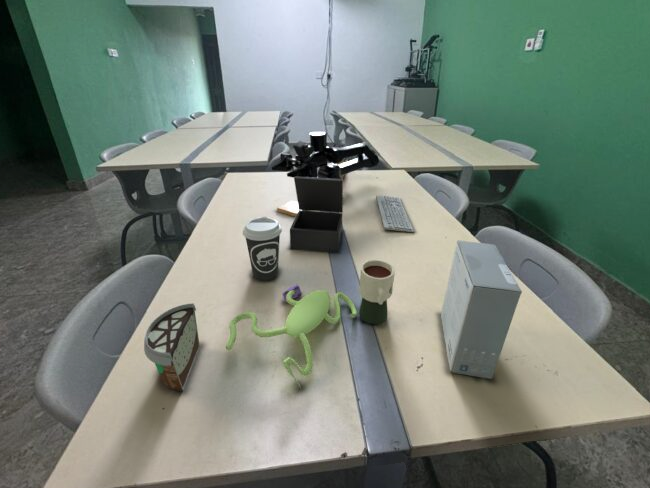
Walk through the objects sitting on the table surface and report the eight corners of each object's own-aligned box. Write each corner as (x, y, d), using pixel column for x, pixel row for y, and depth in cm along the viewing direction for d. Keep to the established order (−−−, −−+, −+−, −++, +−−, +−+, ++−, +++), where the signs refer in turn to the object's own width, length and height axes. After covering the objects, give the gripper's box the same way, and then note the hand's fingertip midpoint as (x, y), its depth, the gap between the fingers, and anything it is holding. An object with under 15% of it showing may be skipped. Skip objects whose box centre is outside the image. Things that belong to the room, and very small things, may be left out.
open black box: (338, 252, 95) (338, 232, 92) (290, 248, 96) (289, 229, 93) (341, 231, 107) (342, 213, 105) (299, 228, 108) (299, 210, 106)
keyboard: (414, 232, 108) (414, 227, 107) (384, 231, 108) (384, 226, 107) (399, 199, 135) (400, 195, 134) (375, 198, 135) (376, 194, 134)
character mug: (394, 334, 66) (401, 284, 61) (360, 336, 66) (365, 285, 61) (383, 299, 76) (388, 254, 71) (354, 300, 76) (357, 254, 70)
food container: (170, 341, 63) (160, 302, 59) (202, 340, 64) (194, 301, 59) (140, 401, 52) (126, 358, 48) (179, 399, 52) (168, 356, 48)
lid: (342, 181, 93) (342, 179, 94) (293, 178, 94) (294, 176, 95) (342, 212, 104) (342, 211, 105) (298, 209, 105) (299, 208, 106)
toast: (291, 203, 127) (291, 200, 127) (310, 208, 123) (310, 205, 123) (277, 211, 120) (277, 207, 120) (296, 217, 116) (296, 213, 116)
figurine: (215, 353, 61) (211, 331, 59) (300, 281, 82) (300, 263, 79) (289, 404, 52) (288, 381, 50) (364, 309, 73) (365, 290, 71)
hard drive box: (493, 381, 57) (523, 293, 49) (449, 373, 58) (472, 286, 50) (474, 319, 71) (495, 243, 63) (439, 314, 72) (455, 238, 64)
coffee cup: (289, 267, 87) (288, 219, 81) (272, 288, 79) (269, 236, 73) (259, 260, 90) (255, 212, 84) (239, 279, 82) (233, 228, 75)
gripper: (296, 136, 123) (261, 144, 114) (329, 145, 111) (293, 155, 102) (298, 163, 128) (265, 173, 119) (329, 174, 116) (296, 187, 107)
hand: (279, 171), depth 111 cm, fingers open, 9 cm apart
